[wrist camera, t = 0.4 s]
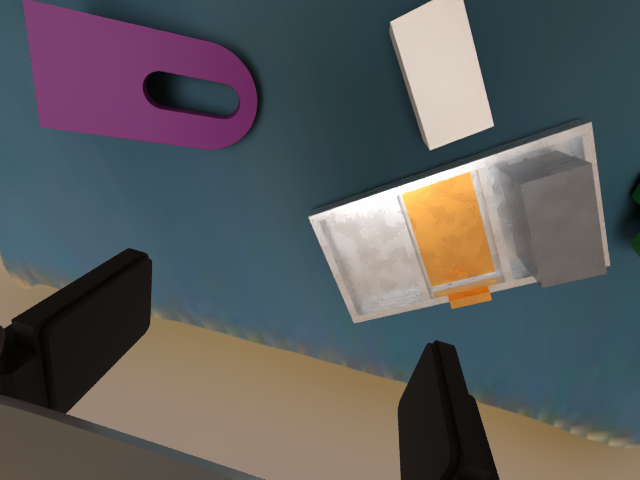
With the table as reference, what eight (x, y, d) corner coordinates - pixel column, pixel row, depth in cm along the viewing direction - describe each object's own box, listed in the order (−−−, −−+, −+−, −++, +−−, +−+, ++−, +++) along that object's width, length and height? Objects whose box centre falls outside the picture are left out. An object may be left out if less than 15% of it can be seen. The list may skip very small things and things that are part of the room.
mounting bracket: (253, 53, 39) (62, 8, 33) (263, 54, 32) (22, -3, 26) (244, 138, 43) (72, 111, 37) (251, 155, 36) (40, 127, 30)
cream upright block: (389, 33, 31) (390, 21, 26) (445, 5, 29) (459, -14, 24) (422, 140, 34) (430, 150, 29) (475, 119, 32) (494, 126, 27)
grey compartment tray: (576, 119, 31) (621, 126, 25) (595, 254, 35) (637, 288, 30) (312, 209, 39) (300, 231, 33) (355, 311, 43) (351, 346, 37)
